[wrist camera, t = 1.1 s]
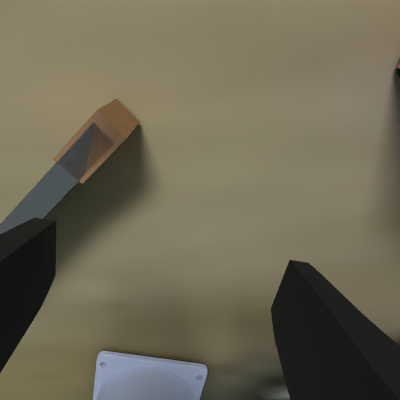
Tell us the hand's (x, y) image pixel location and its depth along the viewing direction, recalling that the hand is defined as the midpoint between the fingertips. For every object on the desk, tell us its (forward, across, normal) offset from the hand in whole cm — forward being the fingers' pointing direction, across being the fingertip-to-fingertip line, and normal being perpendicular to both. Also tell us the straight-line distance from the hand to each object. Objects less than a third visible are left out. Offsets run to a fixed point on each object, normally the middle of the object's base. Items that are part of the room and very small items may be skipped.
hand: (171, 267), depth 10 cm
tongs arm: (+9, +8, +4) cm, 12 cm away
